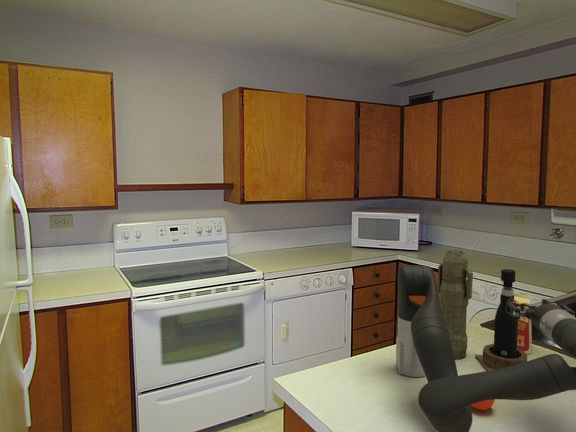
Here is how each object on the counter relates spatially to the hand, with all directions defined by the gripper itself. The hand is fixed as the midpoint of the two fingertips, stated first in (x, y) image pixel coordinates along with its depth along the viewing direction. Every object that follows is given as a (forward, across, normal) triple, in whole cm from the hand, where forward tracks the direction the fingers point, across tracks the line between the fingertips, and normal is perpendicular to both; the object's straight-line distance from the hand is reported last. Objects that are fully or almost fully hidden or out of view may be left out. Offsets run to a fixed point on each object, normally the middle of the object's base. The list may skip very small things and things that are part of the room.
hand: (526, 301), depth 111 cm
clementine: (-9, -14, -26) cm, 31 cm away
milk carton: (+30, +11, -27) cm, 42 cm away
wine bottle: (+14, +1, -26) cm, 29 cm away
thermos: (+23, -12, -27) cm, 37 cm away
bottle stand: (+14, +1, -26) cm, 30 cm away
